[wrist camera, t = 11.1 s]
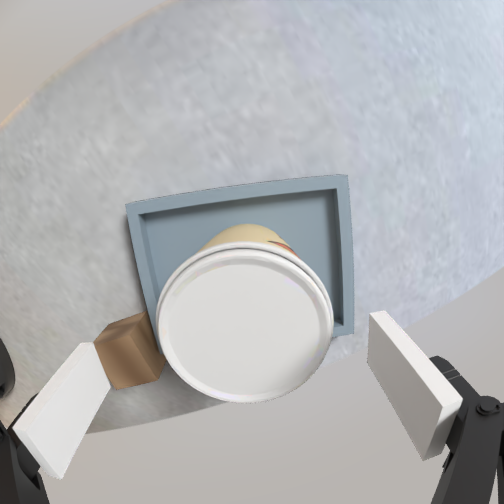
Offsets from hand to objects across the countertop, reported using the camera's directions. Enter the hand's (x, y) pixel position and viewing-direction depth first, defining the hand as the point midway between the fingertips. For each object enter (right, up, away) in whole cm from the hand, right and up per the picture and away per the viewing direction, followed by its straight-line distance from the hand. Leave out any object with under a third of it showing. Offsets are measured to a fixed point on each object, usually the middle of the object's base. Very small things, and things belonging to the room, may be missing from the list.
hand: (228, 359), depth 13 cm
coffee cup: (+1, +3, +13) cm, 14 cm away
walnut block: (-11, -4, +16) cm, 20 cm away
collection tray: (0, +4, +14) cm, 15 cm away
